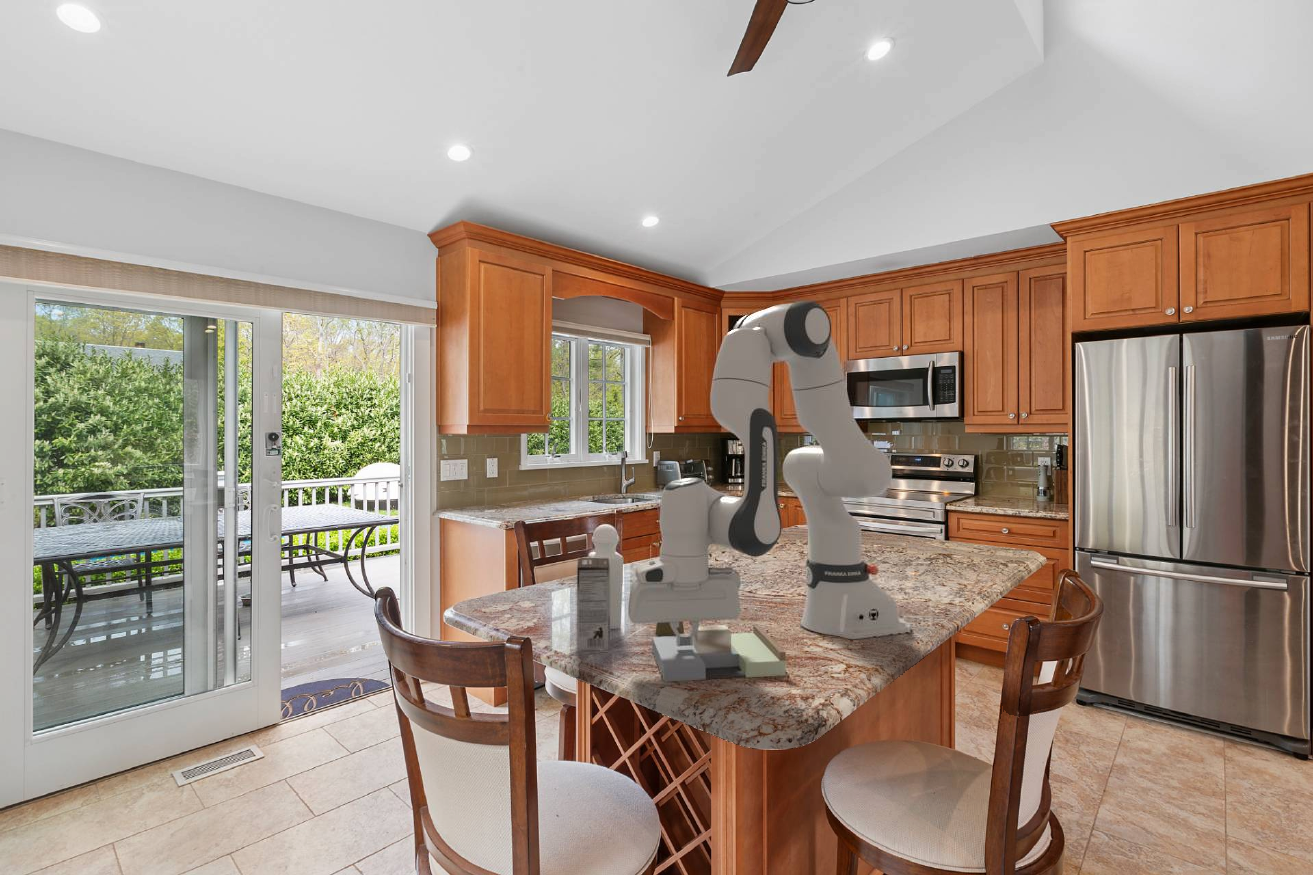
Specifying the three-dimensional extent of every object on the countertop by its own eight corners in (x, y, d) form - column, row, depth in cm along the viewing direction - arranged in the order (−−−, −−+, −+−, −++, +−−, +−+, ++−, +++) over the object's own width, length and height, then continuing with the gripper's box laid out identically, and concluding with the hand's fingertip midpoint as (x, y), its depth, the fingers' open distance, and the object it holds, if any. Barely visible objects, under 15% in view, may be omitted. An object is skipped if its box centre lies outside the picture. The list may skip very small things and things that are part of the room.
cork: (681, 638, 130) (681, 584, 130) (652, 636, 131) (652, 583, 131) (686, 629, 136) (686, 578, 136) (658, 628, 137) (658, 576, 137)
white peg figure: (623, 628, 136) (623, 525, 136) (593, 631, 134) (593, 526, 134) (616, 620, 143) (616, 521, 143) (587, 623, 141) (587, 523, 141)
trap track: (758, 645, 126) (758, 624, 126) (785, 675, 110) (785, 651, 110) (652, 650, 123) (652, 629, 123) (664, 681, 107) (664, 657, 107)
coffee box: (578, 636, 132) (578, 557, 132) (609, 635, 132) (609, 557, 132) (576, 650, 122) (576, 566, 122) (609, 649, 123) (609, 565, 123)
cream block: (725, 643, 119) (725, 624, 119) (731, 651, 114) (731, 632, 114) (693, 645, 118) (693, 626, 118) (698, 653, 113) (698, 633, 113)
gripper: (736, 563, 120) (736, 637, 120) (627, 566, 117) (627, 641, 117) (744, 570, 114) (745, 648, 114) (630, 573, 111) (630, 653, 111)
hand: (684, 644), depth 116 cm, fingers closed
